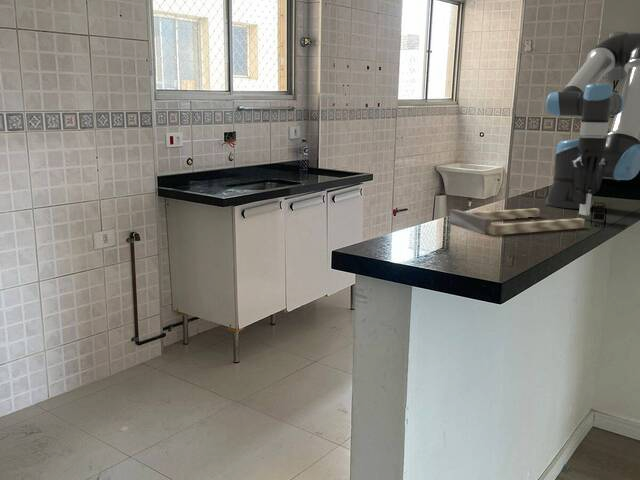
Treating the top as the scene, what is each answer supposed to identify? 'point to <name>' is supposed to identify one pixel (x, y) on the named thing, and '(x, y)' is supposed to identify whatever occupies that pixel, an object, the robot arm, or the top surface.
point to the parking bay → (483, 223)
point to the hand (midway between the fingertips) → (584, 214)
